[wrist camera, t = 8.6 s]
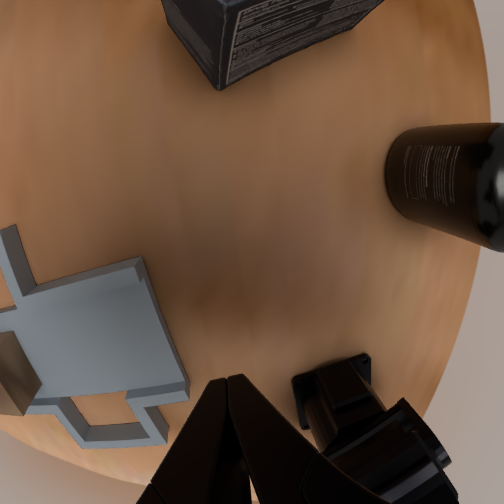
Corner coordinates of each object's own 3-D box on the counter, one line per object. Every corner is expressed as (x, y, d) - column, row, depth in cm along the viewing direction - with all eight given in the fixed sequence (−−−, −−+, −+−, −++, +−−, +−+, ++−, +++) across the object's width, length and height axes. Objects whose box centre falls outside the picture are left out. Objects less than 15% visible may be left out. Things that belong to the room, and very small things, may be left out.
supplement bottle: (423, 239, 20) (551, 302, 9) (365, 180, 19) (520, 214, 7) (464, 170, 19) (590, 195, 8) (413, 107, 18) (557, 92, 6)
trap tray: (120, 184, 17) (110, 186, 15) (208, 420, 22) (208, 438, 20) (-63, 263, 15) (-76, 270, 13) (29, 432, 21) (23, 444, 19)
